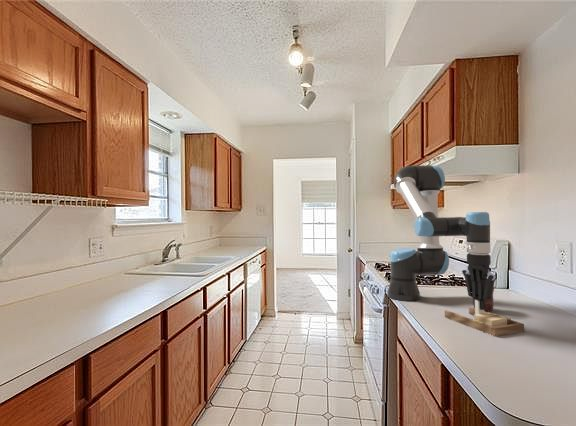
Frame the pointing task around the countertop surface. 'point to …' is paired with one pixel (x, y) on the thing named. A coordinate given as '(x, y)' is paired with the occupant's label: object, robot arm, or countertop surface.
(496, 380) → the countertop surface
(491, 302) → the mug
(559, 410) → the countertop surface
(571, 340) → the countertop surface
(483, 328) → the beam slot
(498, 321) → the block
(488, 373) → the countertop surface
